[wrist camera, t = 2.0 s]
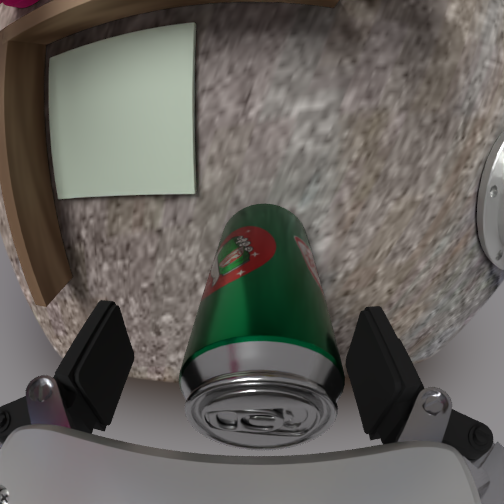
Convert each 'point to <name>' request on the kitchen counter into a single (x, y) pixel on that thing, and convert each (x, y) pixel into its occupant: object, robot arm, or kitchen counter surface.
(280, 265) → the soda can
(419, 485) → the robot arm
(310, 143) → the kitchen counter surface
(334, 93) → the kitchen counter surface
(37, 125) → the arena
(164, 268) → the kitchen counter surface
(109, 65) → the pad
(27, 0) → the pepper mill
